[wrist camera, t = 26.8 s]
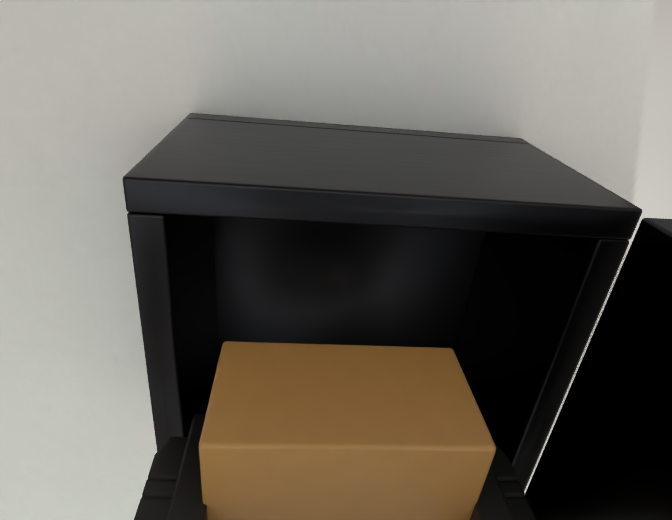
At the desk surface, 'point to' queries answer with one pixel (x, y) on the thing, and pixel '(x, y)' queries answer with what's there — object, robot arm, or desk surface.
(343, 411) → the tan square block
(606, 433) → the box lid
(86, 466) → the desk surface
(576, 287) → the black hinged lid box
